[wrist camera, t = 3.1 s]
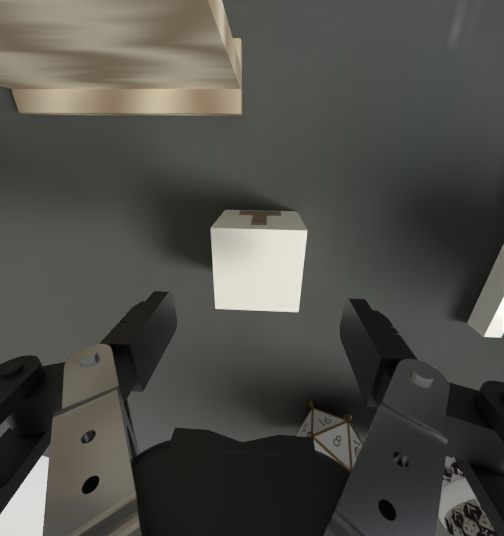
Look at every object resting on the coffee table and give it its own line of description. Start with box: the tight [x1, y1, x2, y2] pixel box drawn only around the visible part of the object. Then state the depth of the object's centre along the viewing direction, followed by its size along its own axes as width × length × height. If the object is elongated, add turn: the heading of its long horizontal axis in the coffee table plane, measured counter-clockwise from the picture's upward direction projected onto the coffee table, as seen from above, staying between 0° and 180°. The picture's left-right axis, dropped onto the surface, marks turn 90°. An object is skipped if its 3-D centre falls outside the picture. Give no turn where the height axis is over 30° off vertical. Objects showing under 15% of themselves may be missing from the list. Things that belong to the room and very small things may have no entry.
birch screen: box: [0, 0, 242, 116], centre depth 10 cm, size 16×4×15 cm, turn 89°
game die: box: [295, 400, 363, 473], centre depth 27 cm, size 9×8×10 cm
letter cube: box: [211, 210, 307, 312], centre depth 19 cm, size 6×6×6 cm
